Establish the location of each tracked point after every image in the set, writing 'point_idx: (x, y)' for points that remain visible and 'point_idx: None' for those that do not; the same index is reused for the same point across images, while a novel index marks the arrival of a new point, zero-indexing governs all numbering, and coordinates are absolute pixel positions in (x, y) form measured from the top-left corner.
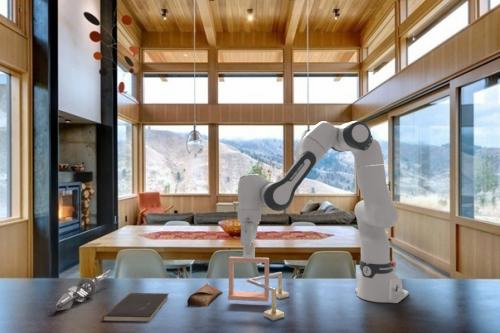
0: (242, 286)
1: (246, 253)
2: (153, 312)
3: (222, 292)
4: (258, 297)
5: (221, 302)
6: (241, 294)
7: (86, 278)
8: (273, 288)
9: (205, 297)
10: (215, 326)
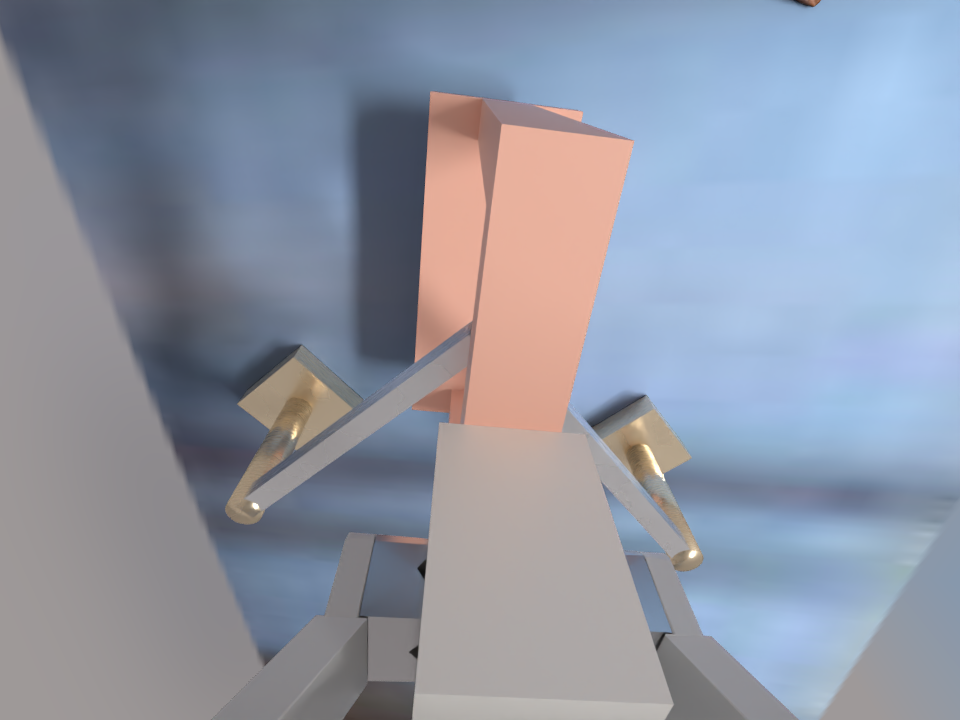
0: (922, 197)
1: (343, 557)
2: None
3: (804, 3)
4: (415, 350)
5: (540, 19)
6: (471, 224)
7: None
8: (243, 509)
9: None
10: (28, 18)
